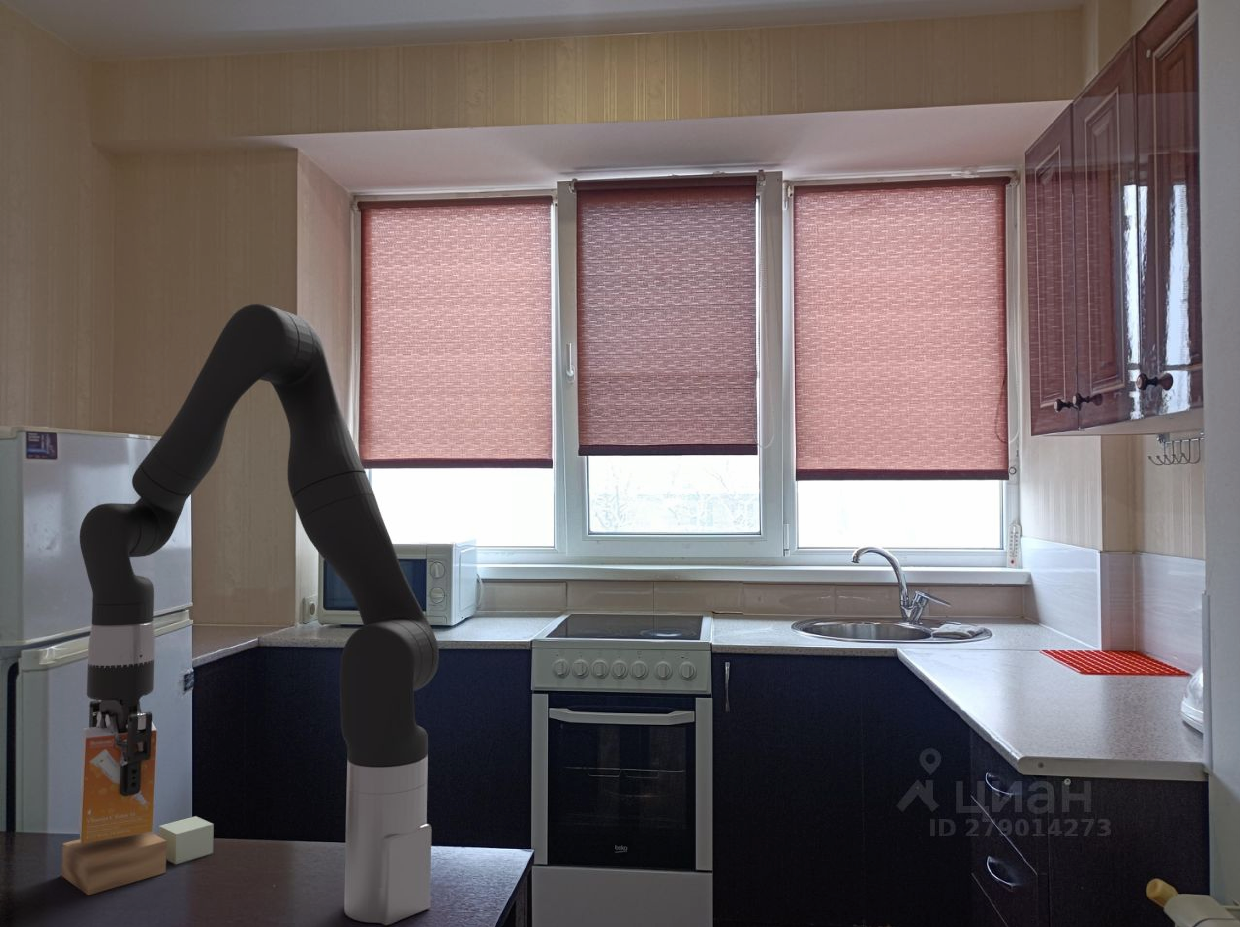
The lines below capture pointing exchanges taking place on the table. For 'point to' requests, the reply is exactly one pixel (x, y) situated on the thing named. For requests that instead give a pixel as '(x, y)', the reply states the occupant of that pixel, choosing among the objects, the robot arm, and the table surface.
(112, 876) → the base brick
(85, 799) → the small box
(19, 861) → the table surface
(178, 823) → the brick
